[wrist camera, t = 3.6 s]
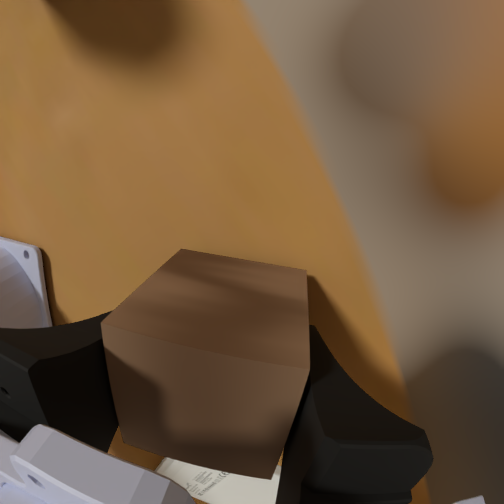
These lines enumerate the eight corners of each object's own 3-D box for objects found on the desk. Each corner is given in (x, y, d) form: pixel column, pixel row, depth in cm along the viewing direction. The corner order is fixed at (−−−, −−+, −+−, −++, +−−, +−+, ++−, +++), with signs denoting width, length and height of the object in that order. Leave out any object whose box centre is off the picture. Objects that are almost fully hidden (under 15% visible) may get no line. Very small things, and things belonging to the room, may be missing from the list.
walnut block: (178, 349, 14) (123, 442, 9) (181, 248, 13) (100, 322, 7) (283, 370, 14) (270, 479, 8) (306, 270, 12) (310, 369, 6)
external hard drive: (287, 514, 21) (156, 466, 20) (348, 479, 18) (189, 421, 17) (286, 528, 19) (149, 480, 19) (348, 496, 16) (181, 439, 16)
